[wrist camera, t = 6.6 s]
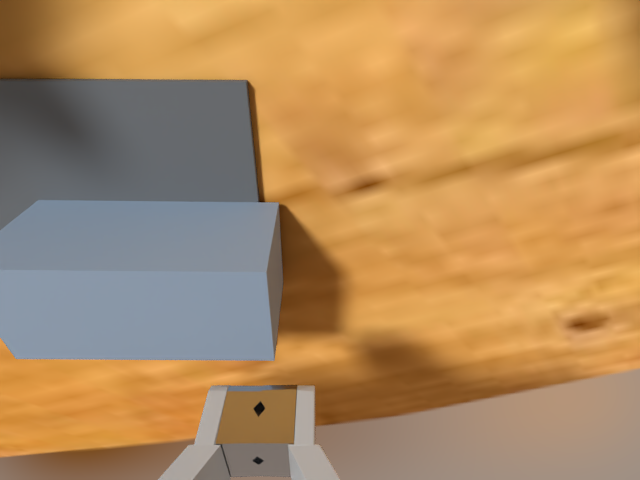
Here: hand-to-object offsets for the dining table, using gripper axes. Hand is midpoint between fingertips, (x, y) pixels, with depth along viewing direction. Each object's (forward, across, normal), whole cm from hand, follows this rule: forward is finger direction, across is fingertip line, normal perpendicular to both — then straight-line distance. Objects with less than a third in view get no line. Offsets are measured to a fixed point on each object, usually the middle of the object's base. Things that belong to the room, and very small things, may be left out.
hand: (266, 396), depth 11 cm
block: (+5, 0, 0) cm, 5 cm away
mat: (+8, +7, 0) cm, 10 cm away
